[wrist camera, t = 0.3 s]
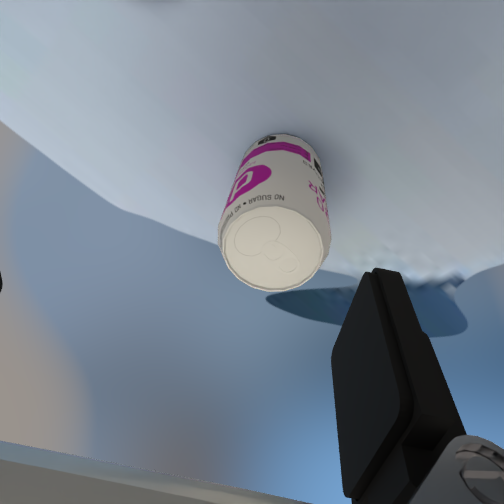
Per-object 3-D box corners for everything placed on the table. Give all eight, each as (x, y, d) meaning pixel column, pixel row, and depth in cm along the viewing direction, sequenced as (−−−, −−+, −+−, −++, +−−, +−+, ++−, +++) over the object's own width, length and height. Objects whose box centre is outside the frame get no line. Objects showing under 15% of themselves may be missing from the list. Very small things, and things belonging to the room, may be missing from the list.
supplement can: (224, 172, 41) (190, 249, 28) (282, 113, 37) (273, 172, 24) (279, 223, 43) (271, 315, 30) (338, 173, 39) (357, 254, 27)
